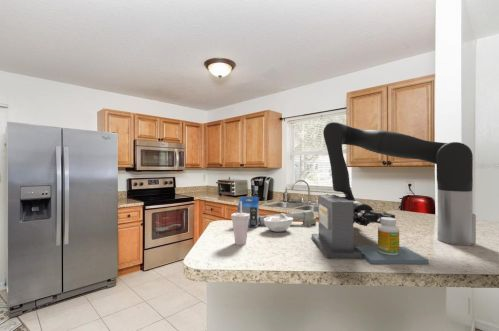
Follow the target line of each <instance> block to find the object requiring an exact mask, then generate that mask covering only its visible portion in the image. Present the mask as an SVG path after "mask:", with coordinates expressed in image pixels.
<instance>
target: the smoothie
mask: <svg viewBox="0 0 499 331" xmlns="http://www.w3.org/2000/svg"><path fill="white" fill-rule="evenodd" d="M239 202H240V213H237V212H234V213H232V214H231V215H230V219H231V222H232V229H233V237H234V244H235V245H236V246H237V245H238V246H243V245H246V244H247V239H248V230H249V227H248V222H249V218H250V214H248V213H242V201H240V200H239Z"/></svg>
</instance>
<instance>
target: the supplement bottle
mask: <svg viewBox="0 0 499 331" xmlns="http://www.w3.org/2000/svg"><path fill="white" fill-rule="evenodd" d="M379 221H380V222H381V224H379V225H378V226H377V247H378V251H379V252H380V253H382V254H386V255H398V254H399V247H400V228H399V227H398V226H396V225H397V219H396V217H395V218H389V217H381V218H379Z"/></svg>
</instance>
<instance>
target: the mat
mask: <svg viewBox="0 0 499 331" xmlns="http://www.w3.org/2000/svg"><path fill="white" fill-rule="evenodd" d="M354 246H355V247H356V248H358V249H359V250H360V251H361V252H362V253H363V259H365V260H366V262H368V263H369V264H371V265H374V264H375V265H377V264H381V265H383V264H384V265H385V264H387V265H390V264H391V265H394V264H396V265H400V264H401V265H402V264H403V265H404V264H405V265H412V264H413V265H418V264H419V265H420V264H421V265H422V264H423V265H428V264H429V262H430V261H429V259H428V258H427V257H424V256H422V255H420V254H419V253H417V252H416V251H415V252H414V251H413V250H412V249H410V248H408V247H406V246H399V254H398V255H386V254H382V253H380V252H379V251H378V246H373V245H372V246H371V245H370V246H356V245H354Z"/></svg>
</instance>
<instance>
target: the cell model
mask: <svg viewBox="0 0 499 331" xmlns="http://www.w3.org/2000/svg"><path fill="white" fill-rule="evenodd" d="M285 214H286V213H283V212H281V213H280V216H269V217H266V218H264V224H265V225H264V226H265V227H266V228H267V229H269V231H271V232H272V231H273V232H274V233H275V232H276V233H277V232H285V231H287V230H288V229H289V228H290V226H291V225H292V224H293V223H292V222H294V221H293V218H291V217H287V216H286V215H285Z"/></svg>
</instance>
